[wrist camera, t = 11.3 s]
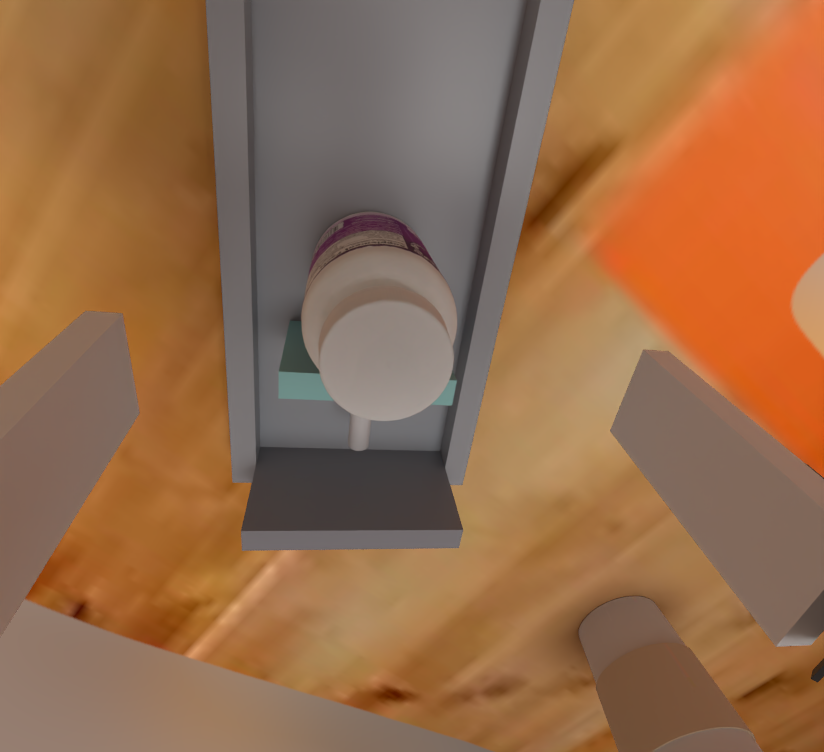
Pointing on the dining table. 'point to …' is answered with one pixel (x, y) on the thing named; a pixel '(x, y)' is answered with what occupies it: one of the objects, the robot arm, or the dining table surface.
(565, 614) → the dining table surface
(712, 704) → the coffee cup
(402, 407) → the pill bottle
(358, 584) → the dining table surface
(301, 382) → the pusher
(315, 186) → the lane
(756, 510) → the robot arm
